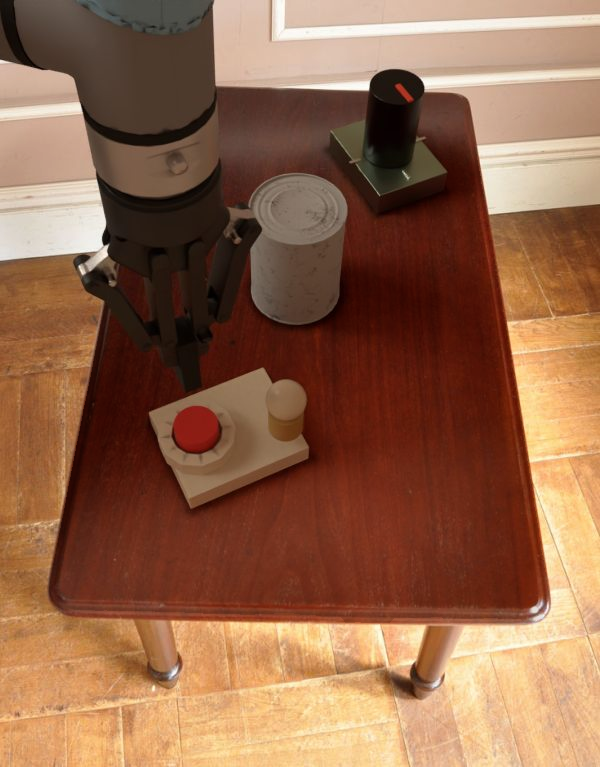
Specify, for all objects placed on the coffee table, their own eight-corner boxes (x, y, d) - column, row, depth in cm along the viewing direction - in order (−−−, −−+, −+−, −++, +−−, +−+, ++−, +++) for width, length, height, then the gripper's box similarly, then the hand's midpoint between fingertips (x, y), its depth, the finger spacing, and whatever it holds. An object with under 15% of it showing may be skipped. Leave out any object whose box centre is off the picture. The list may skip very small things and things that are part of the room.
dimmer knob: (353, 141, 101) (359, 74, 93) (397, 127, 103) (407, 60, 95) (378, 174, 98) (387, 108, 90) (423, 159, 100) (435, 92, 92)
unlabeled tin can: (278, 338, 89) (278, 258, 79) (235, 276, 93) (230, 193, 83) (356, 303, 92) (366, 222, 81) (310, 244, 96) (315, 160, 86)
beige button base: (146, 425, 83) (141, 403, 79) (263, 379, 86) (263, 356, 83) (186, 511, 78) (182, 491, 75) (308, 458, 81) (310, 437, 78)
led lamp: (259, 418, 79) (258, 380, 74) (294, 404, 80) (295, 365, 74) (276, 449, 77) (276, 412, 72) (311, 434, 78) (314, 397, 73)
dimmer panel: (324, 151, 105) (325, 130, 102) (396, 127, 107) (400, 106, 105) (372, 216, 99) (375, 196, 96) (447, 189, 101) (452, 169, 99)
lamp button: (168, 425, 79) (166, 415, 77) (208, 409, 80) (207, 399, 78) (185, 459, 77) (183, 450, 75) (226, 442, 78) (225, 433, 76)
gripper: (72, 236, 48) (128, 443, 67) (283, 169, 51) (278, 384, 71) (32, 151, 51) (97, 371, 71) (232, 93, 55) (240, 318, 74)
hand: (187, 377), depth 71 cm, fingers closed
